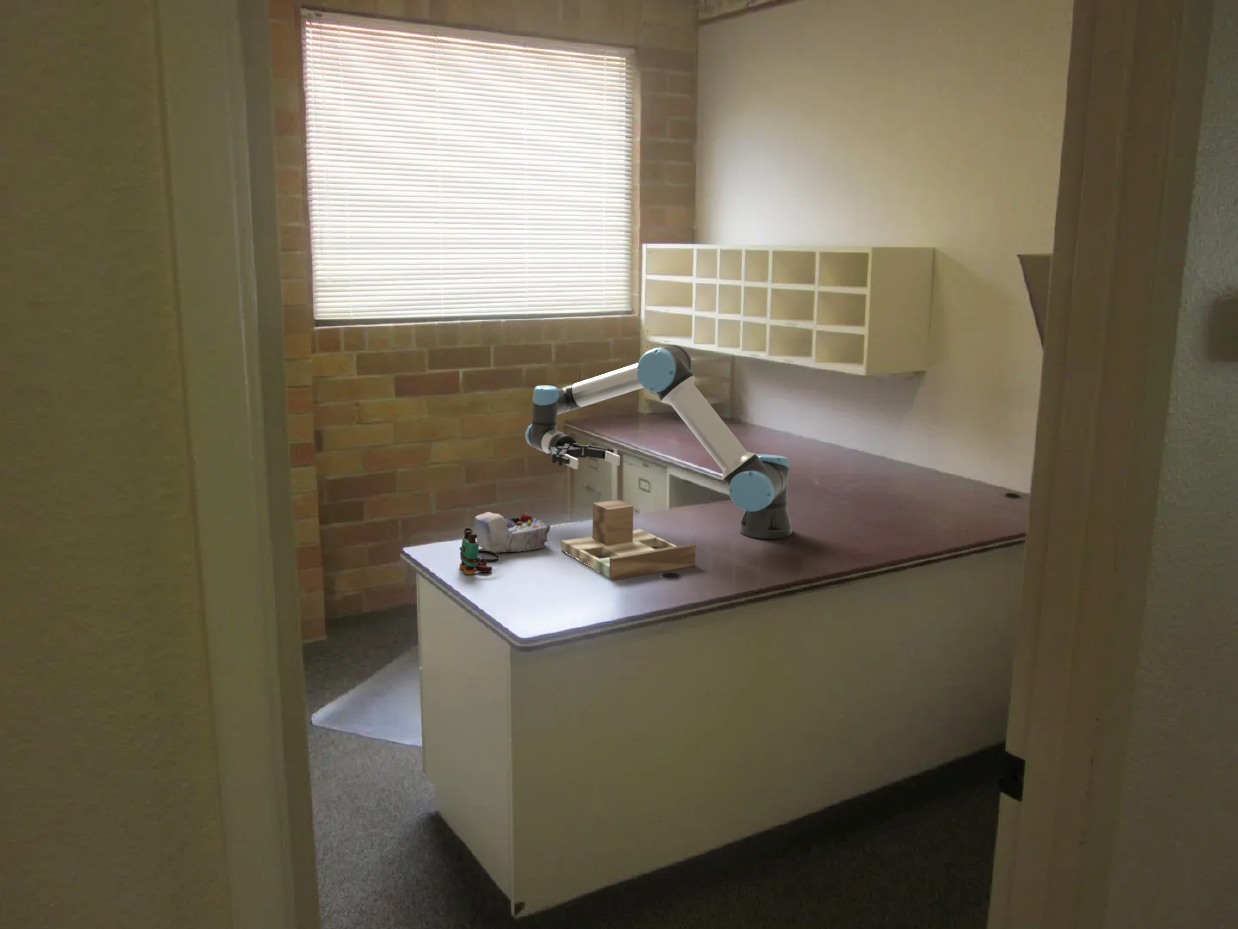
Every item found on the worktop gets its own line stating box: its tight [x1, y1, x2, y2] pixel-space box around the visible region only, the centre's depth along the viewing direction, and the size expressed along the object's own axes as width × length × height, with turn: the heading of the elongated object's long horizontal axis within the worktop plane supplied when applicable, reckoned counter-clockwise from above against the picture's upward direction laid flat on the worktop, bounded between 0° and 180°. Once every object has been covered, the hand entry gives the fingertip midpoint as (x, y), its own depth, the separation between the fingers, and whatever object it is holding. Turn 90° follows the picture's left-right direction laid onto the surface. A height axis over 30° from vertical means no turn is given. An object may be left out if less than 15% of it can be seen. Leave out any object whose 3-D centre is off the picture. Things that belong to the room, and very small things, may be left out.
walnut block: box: [592, 499, 634, 546], centre depth 272 cm, size 8×8×10 cm
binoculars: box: [459, 527, 500, 576], centre depth 255 cm, size 9×11×10 cm
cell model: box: [474, 511, 551, 554], centre depth 274 cm, size 13×11×20 cm
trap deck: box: [561, 528, 696, 581], centre depth 267 cm, size 28×25×6 cm
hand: (598, 462), depth 276 cm, fingers open, 13 cm apart
